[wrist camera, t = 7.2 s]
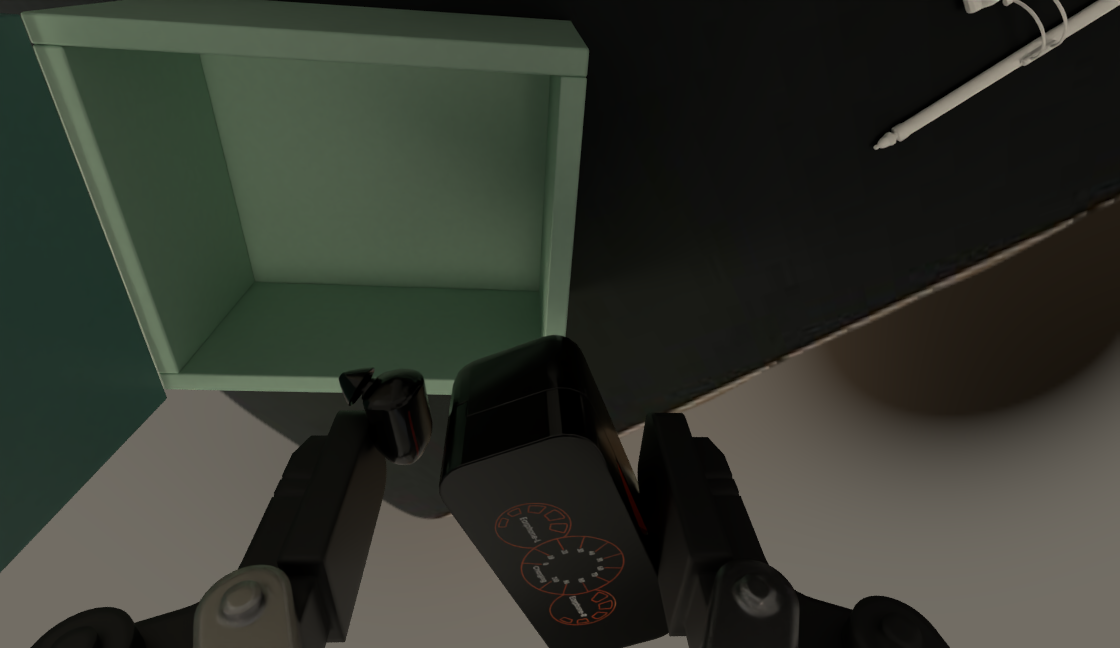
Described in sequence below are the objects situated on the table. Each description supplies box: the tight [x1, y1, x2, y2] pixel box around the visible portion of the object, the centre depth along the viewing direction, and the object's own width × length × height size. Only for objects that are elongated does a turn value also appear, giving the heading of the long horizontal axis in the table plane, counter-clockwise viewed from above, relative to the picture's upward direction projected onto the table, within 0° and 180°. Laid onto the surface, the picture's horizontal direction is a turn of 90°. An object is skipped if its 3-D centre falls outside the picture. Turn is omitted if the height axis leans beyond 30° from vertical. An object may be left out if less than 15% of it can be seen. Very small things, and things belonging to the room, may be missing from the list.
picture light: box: [873, 0, 1120, 150], centre depth 24 cm, size 14×4×2 cm, turn 126°
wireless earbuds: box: [339, 335, 669, 648], centre depth 12 cm, size 5×7×3 cm, turn 20°
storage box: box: [21, 0, 589, 395], centre depth 23 cm, size 16×13×8 cm
